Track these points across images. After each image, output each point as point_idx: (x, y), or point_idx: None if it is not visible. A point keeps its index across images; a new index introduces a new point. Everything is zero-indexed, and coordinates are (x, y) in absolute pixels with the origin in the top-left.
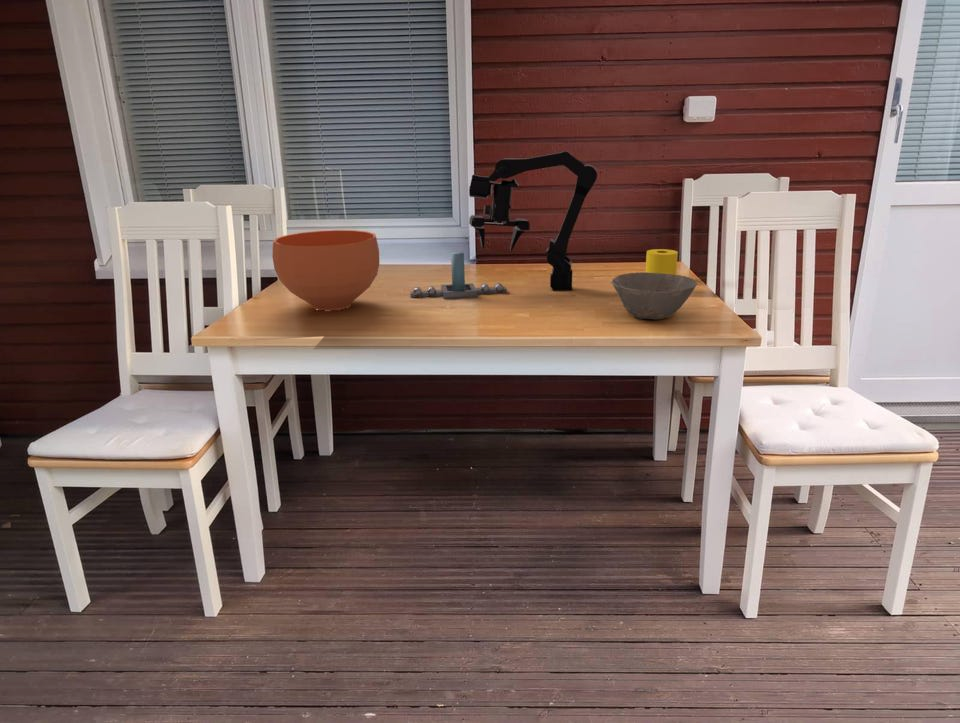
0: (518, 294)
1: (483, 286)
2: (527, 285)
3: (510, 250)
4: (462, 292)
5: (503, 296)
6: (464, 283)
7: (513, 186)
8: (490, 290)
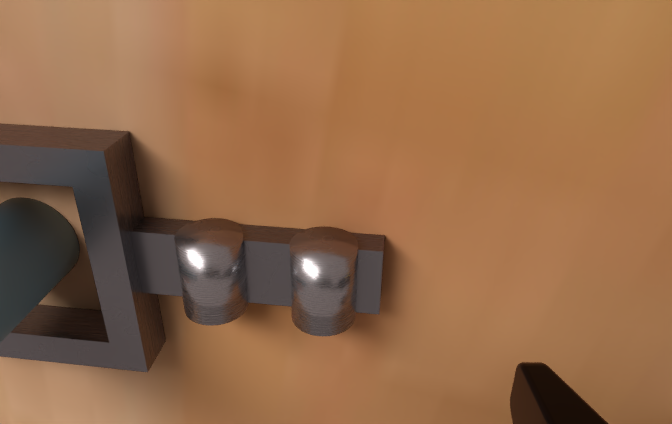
0: (449, 354)
1: (189, 314)
2: (645, 111)
3: (512, 390)
4: (54, 357)
5: (336, 369)
6: (30, 306)
7: None
8: (253, 298)
